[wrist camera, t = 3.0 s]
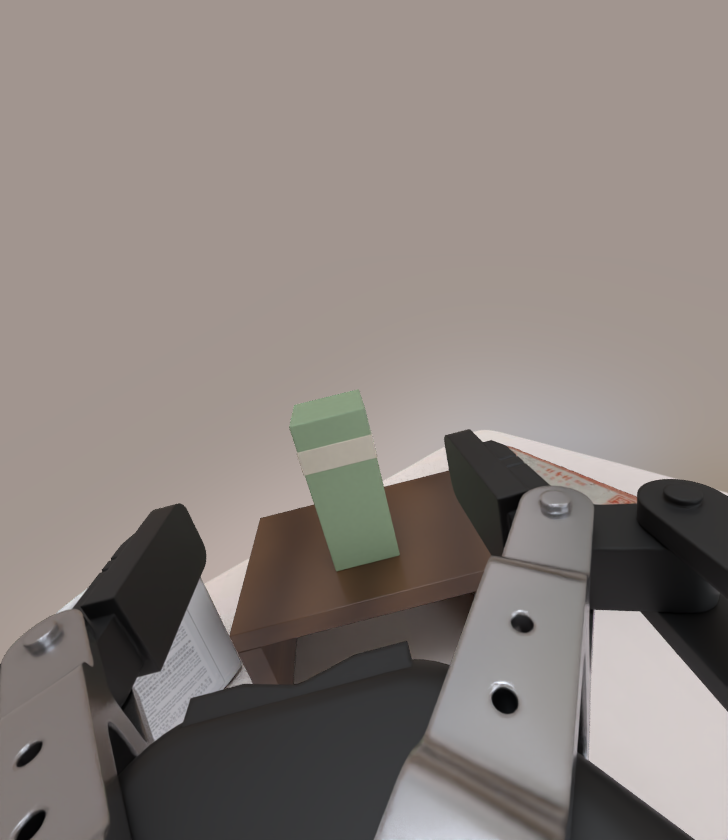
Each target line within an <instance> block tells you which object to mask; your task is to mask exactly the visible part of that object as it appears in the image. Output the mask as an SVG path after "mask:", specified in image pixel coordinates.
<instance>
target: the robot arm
mask: <svg viewBox="0 0 728 840" xmlns="http://www.w3.org/2000/svg"><path fill="white" fill-rule="evenodd" d="M444 442H445V448H446V454H447V460H448V466H449V472H450V478H451V483H452V487H453V490H454V493H455V496H456V498H457V500H458V502H459V503H460V505H461V507H462V508H463V510H464V512H465V513H466V515H467V517H468V518H469V520H470V521H471V523H472V525H473V526H474V528H475V530H476V531H477V533H478V534H479V536H480V538H481V539H482V541H483V543H484V544H485V546H486V548H487V549H488V551H489V552H490V554H491V557H490V558H489V560H488V562H487V565H486V567H485V570H484V573H483V576H482V578H481V581H480V584H479V587H478V589H477V592H476V595H475V598H474V600H473V603H472V606H471V609H470V611H469V614H468V617H467V620H466V622H465V625H464V628H463V631H462V634H461V636H460V639H459V642H458V645H457V647H456V650H455V653H454V656H453V658H452V661H451V664H450V665H447V664H443V663H440V662H436V661H429V660H416V659H412V658H411V654H410V650H409V646H408V643H407V641H405V642H401V643H397V644H393V645H390V646H386V647H382V648H378V649H375V650H371V651H367V652H363V653H359V654H356V655H353V656H351V657H349V658H347V659H346V660H344V661H342V662H340V663H338V664H336V665H334V666H332V667H331V668H329V669H327V670H325V671H323V672H321V673H319V674H317V675H316V676H314V677H312V678H310V679H308V680H306V681H304V682H302V683H299V684H294V685H281V684H242V685H238V686H235V687H231V688H227V689H223V690H220V691H216V692H212V693H208V694H204V695H201V696H197V697H193V698H191V699H190V702H189V705H188V708H187V711H186V714H185V717H184V721H183V722H182V723H181V724H179V725H177V726H176V727H174V728H172V729H171V730H169V731H168V732H166V733H165V734H163V735H162V736H161V737H159V738H158V739H157V740H156V741H154V738H153V735H152V732H151V729H150V726H149V723H148V720H147V717H146V714H145V711H144V708H143V705H142V702H141V699H140V696H139V694H138V693H137V691H136V690H135V688H134V687H133V685H134V683H135V681H136V679H137V677H141V676H145V675H149V674H153V673H156V672H160V671H161V670H162V667H163V665H164V663H165V660H166V658H167V655H168V653H169V651H170V648H171V646H172V643H173V641H174V639H175V636H176V634H177V632H178V629H179V627H180V624H181V622H182V620H183V617H184V615H185V612H186V610H187V608H188V605H189V603H190V600H191V598H192V596H193V593H194V591H195V589H196V586H197V584H198V581H199V579H200V577H201V574H202V572H203V569H204V567H205V564H206V550H205V546H204V544H203V542H202V539H201V538H200V535H199V533H198V531H197V529H196V528H195V525H194V523H193V521H192V519H191V517H190V515H189V513H188V511H187V509H186V507H184V505H182V504H175V505H171V506H167V507H164V508H159V509H155V510H153V511H152V512H151V513H150V514H149V515H148V517H147V518H146V519H145V521H144V522H143V523H142V525H141V526H140V527H139V529H138V530H137V531H136V533H135V534H133V535H132V536H131V537H130V538H129V539H128V540H126V541H125V542H124V543H123V544H122V545H121V546H120V547H119V548H118V550H117V551H116V552H115V554H114V555H113V556H112V558H111V561H109V562H108V563H107V564H106V565H105V567H104V568H103V569H102V573H99V575H98V576H97V577H96V578H95V580H94V581H93V582H92V584H91V585H90V586H89V588H88V589H87V590H86V591H85V593H84V594H83V595H82V596H81V598H80V599H79V600H78V602H77V603H76V604H75V606H74V607H73V608H72V609H70V610H65V611H62V612H59V613H56V614H54V615H52V616H50V617H48V618H46V619H44V620H43V621H41V622H40V623H38V624H36V625H35V626H34V627H32V628H31V629H29V630H28V631H27V632H26V633H24V634H23V635H22V636H21V637H20V638H19V639H18V640H17V641H16V642H15V643H14V644H13V645H12V646H11V647H10V648H9V650H8V651H7V652H6V654H5V655H4V658H3V659H2V663H1V664H0V840H695V839H693V838H692V837H691V836H689V835H688V834H687V833H685V832H684V831H683V830H681V829H680V828H679V827H677V826H676V825H675V824H673V823H672V822H670V821H669V820H668V819H666V818H665V817H664V816H662V815H661V814H660V813H658V812H657V811H656V810H654V809H653V808H652V807H650V806H649V805H648V804H646V803H645V802H644V801H642V800H641V799H640V798H638V797H637V796H636V795H634V794H633V793H632V792H630V791H629V790H627V789H626V788H625V787H623V786H622V785H621V784H619V783H618V782H617V781H615V780H614V779H613V778H611V777H610V776H609V775H607V774H606V773H605V772H603V771H602V770H601V769H599V768H598V767H597V766H595V765H594V764H593V763H591V762H590V761H589V738H590V698H591V674H592V655H593V636H594V616H595V610H618V611H640V612H641V613H642V614H643V615H644V616H645V617H646V618H647V620H648V621H649V622H650V623H651V624H652V625H653V627H654V628H655V629H656V630H657V631H658V632H659V633H660V635H661V636H662V637H663V638H664V639H665V640H666V641H667V643H668V644H669V645H670V646H671V647H672V648H673V649H674V651H675V652H676V653H677V654H678V655H679V656H680V657H681V659H682V660H683V661H684V662H685V663H686V664H687V665H688V667H689V668H690V669H691V670H692V671H693V672H694V673H695V675H696V676H697V677H698V678H699V679H700V680H701V681H702V683H703V684H704V685H705V686H706V687H707V688H708V690H709V691H710V692H711V693H712V694H713V695H714V696H715V698H716V699H717V700H718V701H719V702H720V703H721V704H722V706H723V707H724V708H725V709H726V710H727V711H728V496H726V495H725V494H723V493H721V492H719V491H718V490H716V489H714V488H711V487H709V486H706V485H703V484H700V483H696V482H692V481H686V480H678V479H662V480H655V481H651V482H648V483H646V484H644V485H643V486H641V487H640V488H639V490H638V492H637V503H631V504H606V505H598V504H593V502H592V501H591V500H590V498H589V497H587V496H586V495H585V494H583V493H582V492H580V491H577V490H575V489H572V488H568V487H563V486H551V485H550V484H548V483H547V482H546V481H545V480H544V479H543V478H542V477H541V476H540V475H538V474H537V473H536V472H535V471H534V470H533V469H532V468H531V467H530V466H528V465H527V464H526V463H524V461H523V460H522V459H521V458H519V457H518V456H516V454H515V453H514V452H513V451H512V450H511V449H509V448H508V447H507V446H506V445H503V444H500V443H498V442H495V441H492V440H490V441H486V442H482V441H481V440H480V439H479V438H478V437H477V436H476V435H475V434H474V433H473V432H472V431H471V430H469V429H468V430H464V431H461V432H457V433H453V434H449V435H445V437H444Z"/></svg>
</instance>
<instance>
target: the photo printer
mask: <svg viewBox="0 0 728 840" xmlns="http://www.w3.org/2000/svg"><path fill="white" fill-rule="evenodd" d="M87 589H88V588H87ZM87 589H86V590H87ZM86 590H85V591H86ZM85 591H83V592H82V593H80V594H79V595H78V596H76V597H75V598H74V599H73V600H71V601H70V602H69V603H68V604H66V605H65V606H64V607H63V608H62V609H60V610H59V611H58V612H57V613H59V612H62V611H65V610H70V609H72V608H73V607H74V606H75V604H76V603H77V602H78V600H79V599H80V598H81V596H82V595H83V594H84V593H85ZM240 666H241V662H240V659H239V656H238V654H237V651H236V649H235V647H234V645H233V643H232V641H231V639H230V637H229V635H228V633H227V631H226V629H225V626H224V624H223V623H222V621H221V618H220V616H219V614H218V612H217V610H216V608H215V606H214V604H213V602H212V600H211V597H210V595H209V593H208V591H207V589H206V587H205V585H204V583H203V581H202V579H201V577H200V579H199V581H198V584H197V586H196V589H195V591H194V593H193V596H192V598H191V600H190V603H189V605H188V608H187V610H186V612H185V615H184V617H183V620H182V622H181V624H180V627H179V629H178V632H177V634H176V636H175V639H174V641H173V643H172V646H171V648H170V651H169V653H168V655H167V658H166V660H165V663H164V665H163V667H162V670H161V671H160V672H156V673H153V674H149V675H145V676H141V677H137V679H136V681H135V683H134V685H133V687H134V688H135V690H136V691H137V693H138V694H139V696H140V699H141V702H142V705H143V708H144V711H145V714H146V717H147V720H148V723H149V726H150V729H151V732H152V735H153V738H154V741H156V740H157V739H158V738H159V737H161V736H162V735H163V734H165V733H166V732H168V731H169V730H171V729H172V728H174V727H176V726H177V725H179V724H181V723H182V722H183V721H184V717H185V714H186V711H187V708H188V705H189V702H190V699H191V698H193V697H197V696H201V695H204V694H208V693H212V692H216V691H220V690H223V689H224V688H225V686H226V685H227V684H228V683H229V682H230V681H231V679H232V678H233V677H234V675H235V674H236V673H237V671H238V670H239V668H240Z"/></svg>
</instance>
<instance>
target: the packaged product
mask: <svg viewBox="0 0 728 840" xmlns="http://www.w3.org/2000/svg"><path fill="white" fill-rule="evenodd" d="M507 447H508V448H509V449H511V450H512V451H513V452H514V453H515V454H516V456H518V457H519V458H521V459H522V460H523V461H524V463H526V464H527V465H528V466H530V467H531V468H532V469H533V470H534V471H535V472H536V473H537V474H538V475H540V476H541V477H542V478H543V479H544V480H545V481H546V482H547V483H548V484H550V485H551V486H563V487H568V488H572V489H575V490H577V491H580V492H582V493H583V494H585V495H586V496H587V497H589V498H590V500H591V501H592V502H593V504H598V505H606V504H631V503H637V497H636V496H634V495H631V494H628V493H626V492H623V491H621V490H618V489H616V488H614V487H611V486H608V485H606V484H604V483H600V482H598V481H596V480H593V479H591V478H589V477H586V476H583V475H581V474H579V473H576V472H574V471H571V470H568V469H566V468H564V467H561V466H558V465H556V464H553V463H551V462H548V461H546V460H542V459H540V458H538V457H535V456H533V455H531V454H528V453H525V452H522V451H521V450H519V449H516V448H513V447H510V446H507Z"/></svg>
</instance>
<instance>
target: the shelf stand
mask: <svg viewBox="0 0 728 840" xmlns="http://www.w3.org/2000/svg"><path fill="white" fill-rule="evenodd" d="M384 490H385V494H386V498H387V503H388V507H389V511H390V515H391V519H392V524H393V528H394V532H395V536H396V540H397V545H398V549H399V553H400V555H399V556H395V557H391V558H387V559H383V560H380V561H376V562H372V563H368V564H364V565H360V566H356V567H352V568H348V569H344V570H340V571H336V570H335V566H334V563H333V560H332V557H331V554H330V551H329V548H328V545H327V542H326V539H325V536H324V533H323V530H322V527H321V524H320V520H319V517H318V514H317V511H316V508H315V505H311V506H307V507H303V508H299V509H295V510H291V511H287V512H283V513H279V514H275V515H271V516H267V517H263V518H260V522H259V525H258V529H257V533H256V537H255V540H254V545H253V548H252V552H251V556H250V559H249V563H248V567H247V571H246V575H245V578H244V582H243V586H242V590H241V594H240V597H239V601H238V605H237V609H236V613H235V617H234V620H233V624H232V628H231V632H230V639H231V641H232V643H233V645H234V647H235V649H236V650H237V652H238V655H239V657H240V659H241V661H242V663H243V665H244V666H245V668H246V670H247V672H248V674H249V676H250V678H251V680H252V682H253V684H281V685H293V683H294V669H295V656H296V642H297V637H300V636H304V635H308V634H312V633H316V632H320V631H324V630H328V629H331V628H335V627H339V626H343V625H347V624H351V623H355V622H359V621H362V620H366V619H370V618H374V617H378V616H382V615H386V614H390V613H393V612H397V611H401V610H405V609H409V608H413V607H417V606H421V605H424V604H428V603H432V602H436V601H440V600H444V599H448V598H452V597H455V596H459V595H463V594H467V593H471V592H473V593H474V595H476V592H477V589H478V587H479V584H480V581H481V578H482V576H483V573H484V570H485V567H486V565H487V562H488V560H489V558H490V557H491V554H490V552H489V551H488V549H487V548H486V546H485V544H484V543H483V541H482V539H481V538H480V536H479V534H478V533H477V531H476V530H475V528H474V526H473V525H472V523H471V521H470V520H469V518H468V517H467V515H466V513H465V512H464V510H463V508H462V507H461V505H460V503H459V502H458V500H457V498H456V496H455V493H454V490H453V487H452V483H451V478H450V472H449V471H445V472H441V473H437V474H433V475H429V476H426V477H422V478H418V479H414V480H410V481H406V482H402V483H398V484H394V485H390V486H386V487H384Z"/></svg>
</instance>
